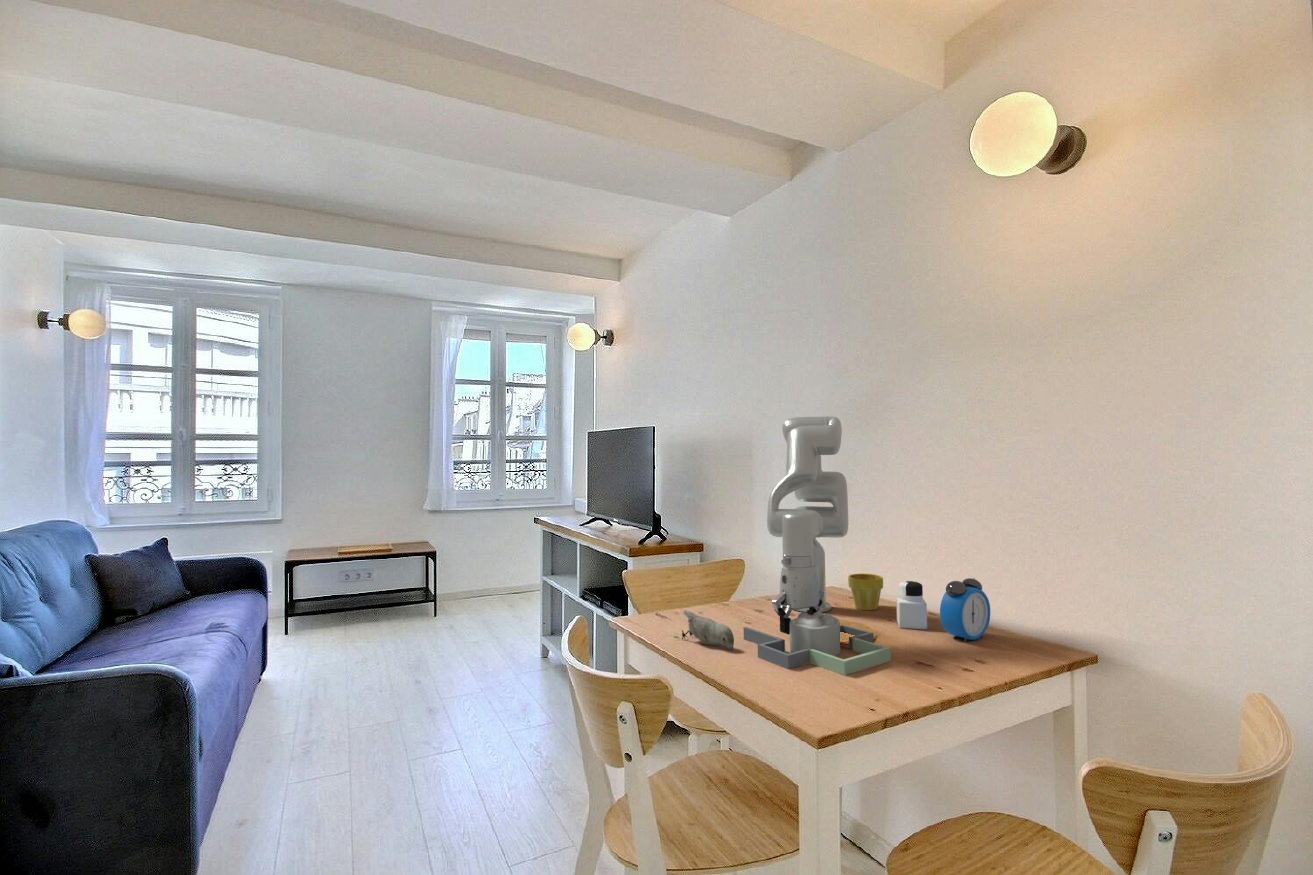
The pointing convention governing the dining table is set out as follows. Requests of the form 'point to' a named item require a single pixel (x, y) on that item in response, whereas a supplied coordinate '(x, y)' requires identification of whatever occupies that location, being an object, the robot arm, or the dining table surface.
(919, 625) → the medicine bottle
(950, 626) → the alarm clock
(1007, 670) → the dining table surface
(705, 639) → the decorative bird
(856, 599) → the plant pot
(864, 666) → the lane box
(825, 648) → the lumpy-topped squat cylinder
